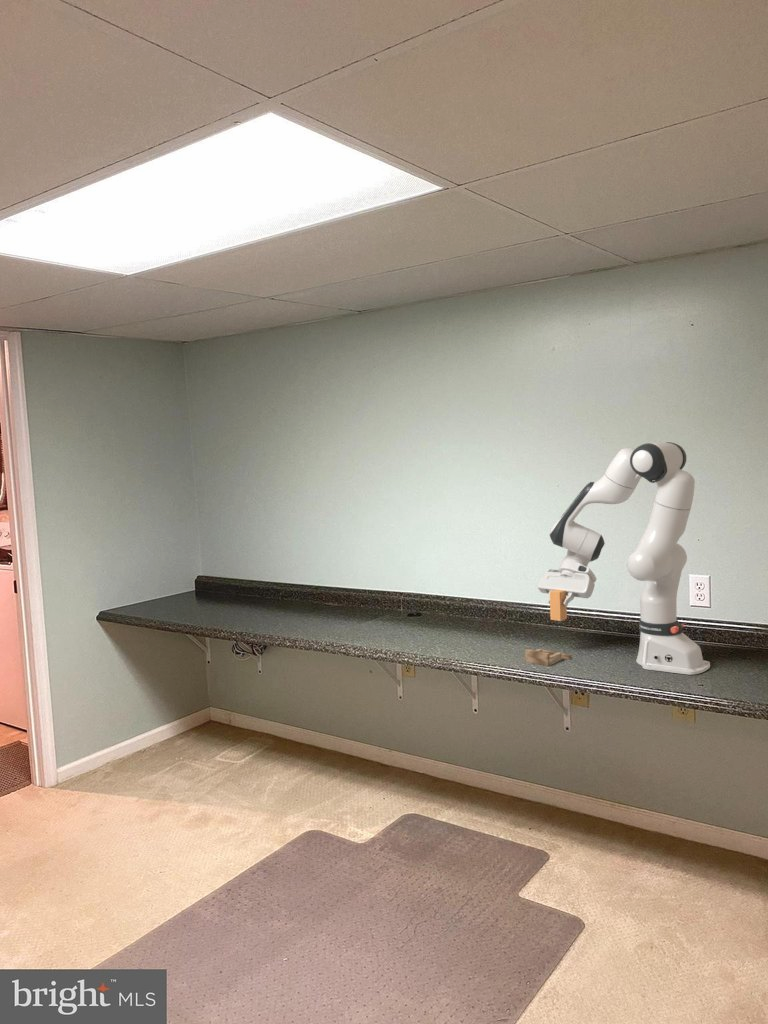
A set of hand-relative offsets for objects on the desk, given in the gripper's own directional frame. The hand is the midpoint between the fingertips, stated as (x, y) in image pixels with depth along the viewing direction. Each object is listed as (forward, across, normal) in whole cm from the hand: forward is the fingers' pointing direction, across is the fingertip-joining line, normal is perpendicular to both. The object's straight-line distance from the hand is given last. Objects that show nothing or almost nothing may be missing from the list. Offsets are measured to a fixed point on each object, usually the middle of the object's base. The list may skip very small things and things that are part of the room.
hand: (557, 604), depth 267 cm
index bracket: (+20, +1, +5) cm, 20 cm away
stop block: (+3, 0, +4) cm, 5 cm away
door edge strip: (+15, +1, +9) cm, 18 cm away
